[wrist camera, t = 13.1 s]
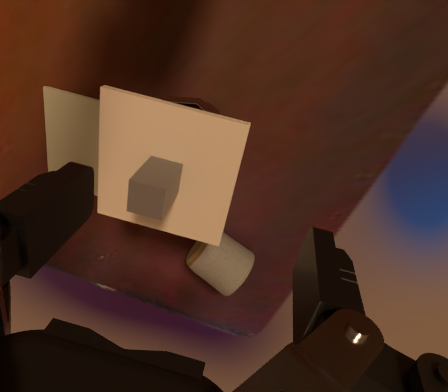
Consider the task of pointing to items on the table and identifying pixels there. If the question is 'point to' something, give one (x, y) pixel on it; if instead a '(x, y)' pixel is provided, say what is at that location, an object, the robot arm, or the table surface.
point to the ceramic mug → (221, 263)
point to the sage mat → (71, 130)
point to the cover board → (176, 143)
